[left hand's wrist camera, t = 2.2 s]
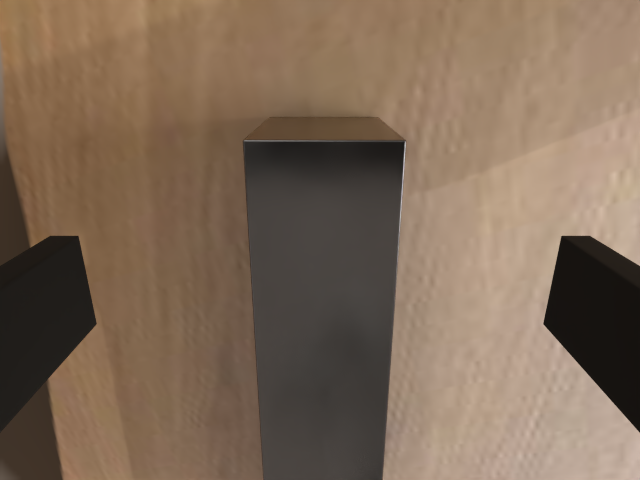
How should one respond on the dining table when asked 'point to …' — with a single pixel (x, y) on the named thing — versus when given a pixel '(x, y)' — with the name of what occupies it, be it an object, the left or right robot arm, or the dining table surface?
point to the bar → (323, 290)
